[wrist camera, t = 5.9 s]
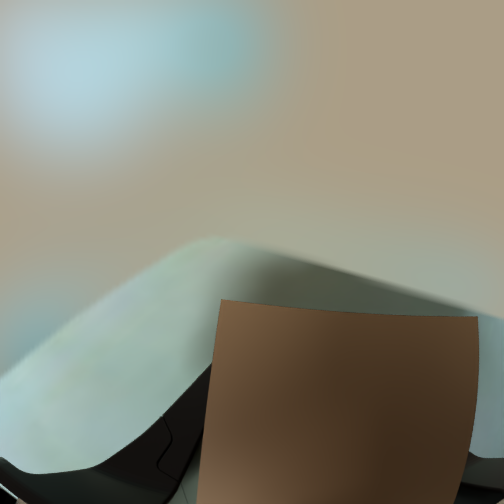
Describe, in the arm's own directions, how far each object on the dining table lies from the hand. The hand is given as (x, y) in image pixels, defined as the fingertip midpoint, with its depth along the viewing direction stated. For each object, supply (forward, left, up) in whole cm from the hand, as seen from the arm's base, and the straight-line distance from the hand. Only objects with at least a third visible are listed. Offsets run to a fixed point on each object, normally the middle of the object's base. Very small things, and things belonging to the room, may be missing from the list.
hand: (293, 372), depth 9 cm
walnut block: (-1, +1, -7) cm, 7 cm away
